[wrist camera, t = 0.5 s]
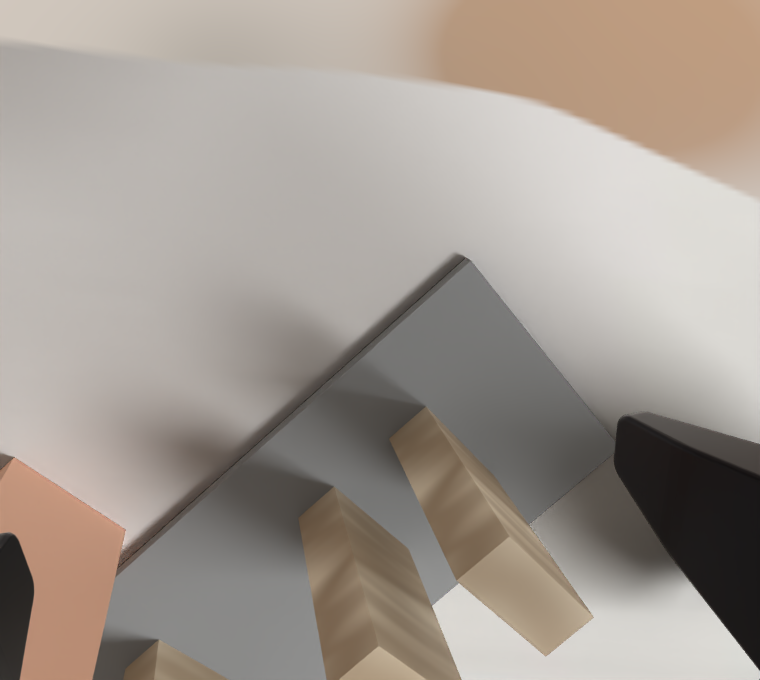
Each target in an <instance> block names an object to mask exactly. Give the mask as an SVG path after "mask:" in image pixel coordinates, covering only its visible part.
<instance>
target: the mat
mask: <svg viewBox="0 0 760 680" xmlns="http://www.w3.org/2000/svg"><path fill="white" fill-rule="evenodd" d="M425 407H427V408H428V409H429V410H430V411H431V412H432V413H433V414H434V415H435V416H436V417H437V418H438V419H439V420H440V421H441V422H442V423H443V424H444V425H445V426H446V427H447V428H448V429H449V430H450V431H451V432H452V433H453V434H454V435H455V436H456V437H457V438H458V439H459V440H460V441H461V442H462V443H463V444H464V446H465V447H466V448H467V449H468V450H469V451H470V452H471V453H472V454H473V455H474V456H475V457H476V458H477V459H478V460H479V461H480V462H481V463H482V464H483V465H484V466H485V467H486V468H487V469H488V470H489V471H490V472H491V473H492V474H493V475H494V476H495V478H496V479H497V480H498V482H499V483H500V485H501V486H502V488H503V489H504V490H505V492H506V493H507V495H508V496H509V498H510V499H511V500H512V502H513V503H514V505H515V506H516V507H517V509H518V510H519V512H520V513H521V515H522V516H523V517H524V519H525V520H526V522H527V523H528V525H529V524H530V523H531V522H532V521H534V520H535V519H536V518H537V517H538V516H540V515H541V514H542V513H543V512H544V511H546V510H547V509H548V508H549V507H550V506H551V505H553V504H554V503H555V502H556V501H557V500H559V499H560V498H561V497H562V496H563V495H565V494H566V493H567V492H568V491H569V490H571V489H572V488H573V487H574V486H575V485H577V484H578V483H579V482H580V481H581V480H583V479H584V478H585V477H586V476H587V475H588V474H590V473H591V472H592V471H593V470H594V469H596V468H597V467H598V466H599V465H600V464H602V463H603V462H604V461H605V460H606V459H608V458H609V457H610V456H611V455H612V454H614V452H615V441H614V440H613V438H612V437H611V436H610V435H609V433H608V432H607V431H606V429H605V428H604V427H603V426H602V424H601V423H600V422H599V421H598V419H597V418H596V417H595V416H594V414H593V413H592V412H591V411H590V409H589V408H588V407H587V406H586V404H585V403H584V402H583V401H582V399H581V398H580V397H579V396H578V394H577V393H576V392H575V391H574V389H573V388H572V387H571V386H570V384H569V383H568V382H567V381H566V379H565V378H564V377H563V376H562V374H561V373H560V372H559V371H558V369H557V368H556V367H555V366H554V364H553V363H552V362H551V361H550V359H549V358H548V357H547V356H546V354H545V353H544V352H543V351H542V349H541V348H540V347H539V346H538V344H537V343H536V342H535V341H534V339H533V338H532V337H531V336H530V334H529V333H528V332H527V331H526V329H525V328H524V327H523V325H522V324H521V323H520V322H519V320H518V319H517V318H516V317H515V315H514V314H513V313H512V312H511V310H510V309H509V308H508V307H507V305H506V304H505V303H504V302H503V300H502V299H501V298H500V297H499V295H498V294H497V293H496V292H495V290H494V289H493V288H492V287H491V285H490V284H489V283H488V282H487V280H486V279H485V278H484V277H483V275H482V274H481V273H480V272H479V270H478V269H477V268H476V267H475V265H474V264H473V263H472V262H471V261H470V260H469V259H467V258H465V259H464V260H463V261H462V262H461V263H459V264H458V265H457V266H456V267H455V268H454V269H453V270H452V271H450V272H449V273H448V274H447V275H446V276H445V277H444V278H443V279H442V280H440V281H439V282H438V283H437V284H436V285H435V286H434V287H433V288H431V289H430V290H429V291H428V292H427V293H426V294H425V295H424V296H422V297H421V298H420V299H419V300H418V301H417V302H416V303H415V304H414V305H412V306H411V307H410V308H409V309H408V310H407V311H406V312H405V313H403V314H402V315H401V316H400V317H399V318H398V319H397V320H396V321H394V322H393V323H392V324H391V325H390V326H389V327H388V328H387V329H385V330H384V331H383V332H382V333H381V334H380V335H379V336H378V337H377V338H375V339H374V340H373V341H372V342H371V343H370V344H369V345H368V346H366V347H365V348H364V349H363V350H362V351H361V352H360V353H359V354H357V355H356V356H355V357H354V358H353V359H352V360H351V361H350V362H349V363H347V364H346V365H345V366H344V367H343V368H342V369H341V370H340V371H338V372H337V373H336V374H335V375H334V376H333V377H332V378H331V379H329V380H328V381H327V382H326V383H325V384H324V385H323V386H322V387H320V388H319V389H318V390H317V391H316V392H315V393H314V394H313V395H312V396H310V397H309V398H308V399H307V400H306V401H305V402H304V403H303V404H301V405H300V406H299V407H298V408H297V409H296V410H295V411H294V412H292V413H291V414H290V415H289V416H288V417H287V418H286V419H285V420H284V421H282V422H281V423H280V424H279V425H278V426H277V427H276V428H275V429H273V430H272V431H271V432H270V433H269V434H268V435H267V436H266V437H264V438H263V439H262V440H261V441H260V442H259V443H258V444H257V445H255V446H254V447H253V448H252V449H251V450H250V451H249V452H248V453H247V454H245V455H244V456H243V457H242V458H241V459H240V460H239V461H238V462H236V463H235V464H234V465H233V466H232V467H231V468H230V469H229V470H227V471H226V472H225V473H224V474H223V475H222V476H221V477H220V478H219V479H217V480H216V481H215V482H214V483H213V484H212V485H211V486H210V487H208V488H207V489H206V490H205V491H204V492H203V493H202V494H201V495H199V496H198V497H197V498H196V499H195V500H194V501H193V502H192V503H190V504H189V505H188V506H187V507H186V508H185V509H184V510H183V511H182V512H180V513H179V514H178V515H177V516H176V517H175V518H174V519H173V520H171V521H170V522H169V523H168V524H167V525H166V526H165V527H164V528H162V529H161V530H160V531H159V532H158V533H157V534H156V535H155V536H154V537H152V538H151V539H150V540H149V541H148V542H147V543H146V544H145V545H143V546H142V547H141V548H140V549H139V550H138V551H137V552H136V553H134V554H133V555H132V556H131V557H130V558H129V559H128V560H127V561H125V562H124V563H123V564H122V565H121V566H120V567H119V568H118V569H117V571H116V576H115V580H114V585H113V589H112V593H111V598H110V602H109V607H108V611H107V616H106V620H105V625H104V629H103V634H102V638H101V643H100V647H99V652H98V656H97V661H96V665H95V670H94V674H93V679H92V680H123V678H124V673H125V669H126V668H127V667H128V666H129V665H130V664H131V663H133V662H134V661H135V660H136V659H137V658H138V657H139V656H141V655H142V654H143V653H144V652H145V651H146V650H147V649H149V648H150V647H151V646H152V645H153V644H154V643H155V642H157V641H158V640H161V641H162V642H164V643H166V644H168V645H169V646H171V647H173V648H175V649H176V650H178V651H180V652H182V653H183V654H185V655H187V656H189V657H190V658H192V659H194V660H196V661H197V662H199V663H201V664H203V665H204V666H206V667H208V668H210V669H211V670H213V671H215V672H217V673H218V674H220V675H222V676H224V677H225V678H227V679H229V680H327V679H326V674H325V668H324V662H323V656H322V651H321V645H320V639H319V634H318V628H317V622H316V616H315V611H314V605H313V599H312V594H311V588H310V582H309V576H308V571H307V565H306V559H305V554H304V548H303V542H302V536H301V531H300V525H299V519H298V518H299V517H300V516H301V515H302V514H303V513H304V512H306V511H307V510H308V509H309V508H310V507H311V506H312V505H314V504H315V503H316V502H317V501H318V500H319V499H320V498H322V497H323V496H324V495H325V494H326V493H327V492H328V491H330V490H331V489H332V488H333V487H335V488H337V489H338V490H339V491H340V492H341V493H343V494H344V495H345V496H346V497H347V498H349V499H350V500H351V501H352V502H353V503H354V504H356V505H357V506H358V507H359V508H360V509H362V510H363V511H364V512H365V513H366V514H368V515H369V516H370V517H371V518H372V519H374V520H375V521H376V522H377V523H378V524H380V525H381V526H382V527H383V528H384V529H386V530H387V531H388V532H389V533H390V534H391V535H393V536H394V537H395V538H396V539H397V540H399V541H400V542H401V543H402V544H403V545H405V546H406V547H407V548H408V549H409V551H410V554H411V556H412V558H413V561H414V563H415V566H416V568H417V571H418V573H419V576H420V578H421V581H422V583H423V586H424V588H425V591H426V593H427V596H428V598H429V601H430V603H431V606H432V605H433V604H434V603H436V602H437V601H438V600H439V599H440V598H442V597H443V596H444V595H445V594H446V593H448V592H449V591H450V590H451V589H452V588H454V587H455V586H456V585H457V584H458V583H459V582H457V581H456V579H455V577H454V574H453V572H452V570H451V568H450V566H449V564H448V562H447V560H446V558H445V556H444V553H443V551H442V549H441V547H440V545H439V543H438V541H437V539H436V537H435V534H434V532H433V530H432V528H431V526H430V524H429V522H428V520H427V518H426V516H425V513H424V511H423V509H422V507H421V505H420V503H419V501H418V499H417V497H416V495H415V492H414V490H413V488H412V486H411V484H410V482H409V480H408V478H407V476H406V473H405V471H404V469H403V467H402V465H401V463H400V461H399V459H398V457H397V455H396V452H395V450H394V448H393V446H392V444H391V442H390V440H389V438H390V437H391V436H393V435H394V434H395V433H396V432H397V431H398V430H399V429H401V428H402V427H403V426H404V425H405V424H406V423H407V422H409V421H410V420H411V419H412V418H413V417H414V416H415V415H417V414H418V413H419V412H420V411H421V410H422V409H424V408H425Z"/></svg>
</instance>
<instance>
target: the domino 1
mask: <svg viewBox="0 0 760 680" xmlns="http://www.w3.org/2000/svg"><path fill="white" fill-rule="evenodd" d="M125 531H126V530H125V529H123V528H122V527H120V526H119V525H117V524H116V523H114V522H113V521H111V520H110V519H108V518H107V517H105V516H104V515H102V514H100V513H99V512H97V511H96V510H94V509H93V508H91V507H90V506H88V505H87V504H85V503H84V502H82V501H80V500H79V499H77V498H76V497H74V496H73V495H71V494H70V493H68V492H67V491H65V490H64V489H62V488H60V487H59V486H57V485H56V484H54V483H53V482H51V481H50V480H48V479H47V478H45V477H44V476H42V475H41V474H39V473H37V472H36V471H34V470H33V469H31V468H30V467H28V466H27V465H25V464H24V463H22V462H21V461H19V460H17V459H16V458H13V459H12V460H11V461H10V462H9V463H7V464H6V465H5V466H4V467H3V468H2V469H1V470H0V533H6V532H11V533H13V534H15V535H16V537H17V538H18V540H19V542H20V545H21V547H22V550H23V553H24V555H25V558H26V561H27V564H28V566H29V569H30V572H31V574H32V577H33V581H34V600H33V606H32V611H31V617H30V623H29V629H28V635H27V641H26V647H25V653H24V658H23V664H22V670H21V676H20V680H92V679H93V674H94V670H95V665H96V661H97V656H98V652H99V647H100V643H101V638H102V634H103V629H104V625H105V620H106V616H107V611H108V607H109V602H110V598H111V593H112V589H113V585H114V580H115V576H116V571H117V567H118V562H119V558H120V553H121V549H122V544H123V540H124V535H125Z"/></svg>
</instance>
